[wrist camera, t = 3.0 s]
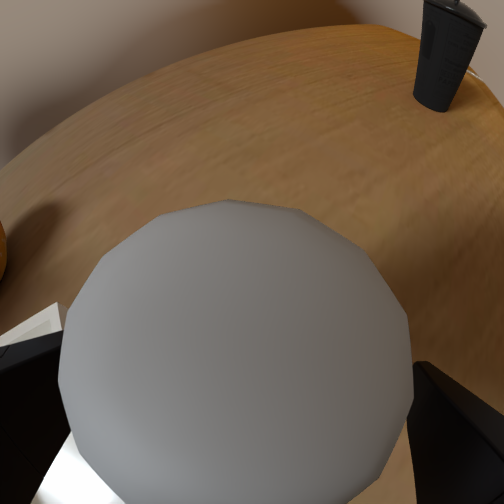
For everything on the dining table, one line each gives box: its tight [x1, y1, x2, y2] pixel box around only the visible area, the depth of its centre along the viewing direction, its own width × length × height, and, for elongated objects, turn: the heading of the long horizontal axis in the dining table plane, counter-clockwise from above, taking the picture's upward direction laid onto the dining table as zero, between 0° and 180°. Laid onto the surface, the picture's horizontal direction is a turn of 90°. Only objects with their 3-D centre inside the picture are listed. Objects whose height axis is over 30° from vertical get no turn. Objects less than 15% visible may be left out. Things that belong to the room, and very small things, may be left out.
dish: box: [0, 302, 126, 504], centre depth 10 cm, size 13×13×3 cm
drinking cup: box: [413, 0, 487, 112], centre depth 17 cm, size 8×8×20 cm
